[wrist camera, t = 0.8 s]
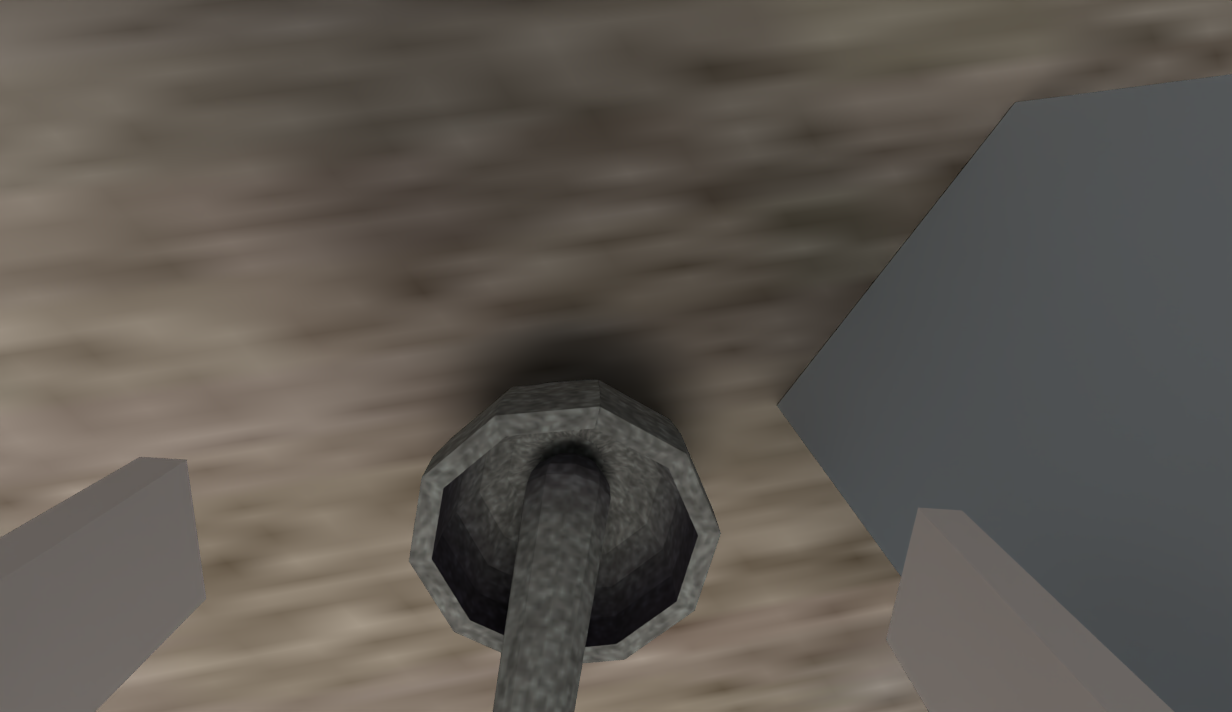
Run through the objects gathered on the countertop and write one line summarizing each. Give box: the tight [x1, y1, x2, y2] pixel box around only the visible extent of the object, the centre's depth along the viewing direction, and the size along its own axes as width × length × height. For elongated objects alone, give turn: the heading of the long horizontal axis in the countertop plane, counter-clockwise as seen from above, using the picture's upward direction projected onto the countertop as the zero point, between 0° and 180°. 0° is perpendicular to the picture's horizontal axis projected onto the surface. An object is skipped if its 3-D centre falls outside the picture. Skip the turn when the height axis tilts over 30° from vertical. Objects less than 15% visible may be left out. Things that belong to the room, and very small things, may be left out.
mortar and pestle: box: [409, 379, 721, 712], centre depth 20 cm, size 11×9×12 cm
